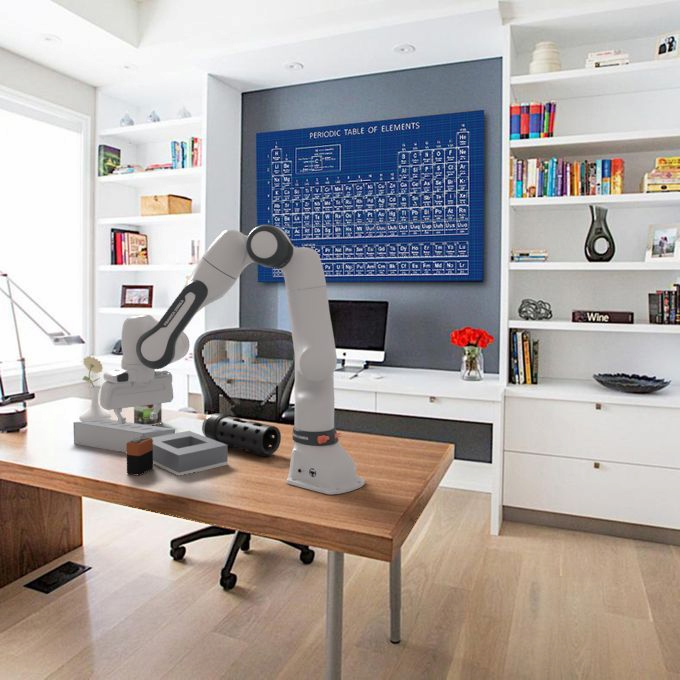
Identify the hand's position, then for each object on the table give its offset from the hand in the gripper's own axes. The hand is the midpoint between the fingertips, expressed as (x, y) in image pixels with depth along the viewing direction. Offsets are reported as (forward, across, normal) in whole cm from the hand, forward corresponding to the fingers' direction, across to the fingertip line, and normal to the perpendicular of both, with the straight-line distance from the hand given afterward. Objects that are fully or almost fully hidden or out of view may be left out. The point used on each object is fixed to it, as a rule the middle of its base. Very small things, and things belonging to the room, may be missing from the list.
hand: (138, 421), depth 165 cm
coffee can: (+15, -28, -52) cm, 61 cm away
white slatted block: (+15, -9, -30) cm, 35 cm away
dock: (+14, -14, 0) cm, 20 cm away
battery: (+15, 0, 0) cm, 15 cm away
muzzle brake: (+14, -34, 0) cm, 37 cm away
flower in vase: (+15, -14, -68) cm, 71 cm away
